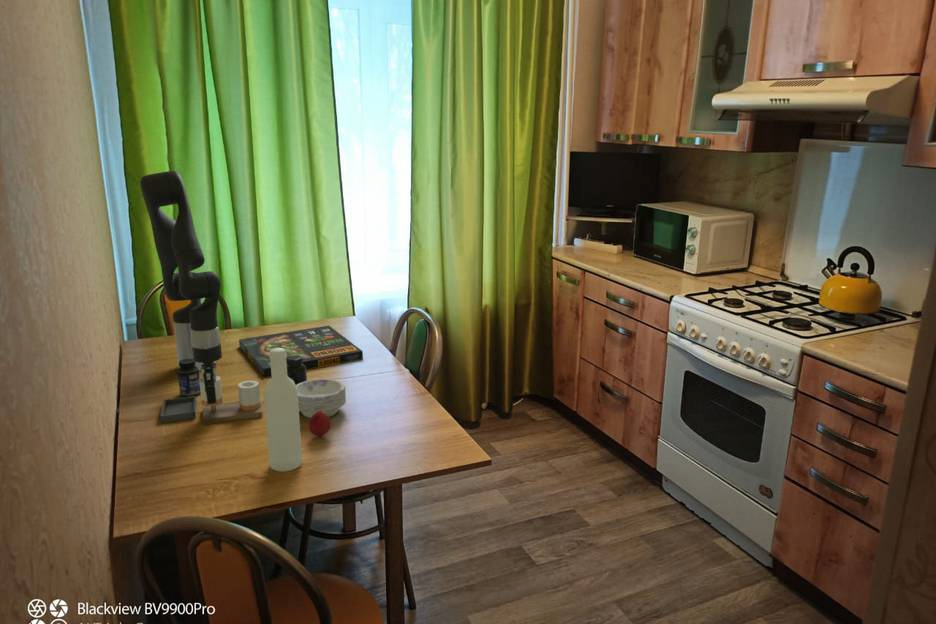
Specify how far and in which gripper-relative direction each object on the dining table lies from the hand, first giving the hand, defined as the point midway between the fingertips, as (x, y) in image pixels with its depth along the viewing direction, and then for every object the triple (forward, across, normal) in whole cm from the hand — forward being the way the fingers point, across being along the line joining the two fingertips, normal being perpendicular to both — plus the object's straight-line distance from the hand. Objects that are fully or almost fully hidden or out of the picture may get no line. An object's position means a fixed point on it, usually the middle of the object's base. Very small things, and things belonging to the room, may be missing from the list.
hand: (212, 398), depth 188 cm
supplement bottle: (+6, -9, +24) cm, 26 cm away
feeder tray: (+5, -6, -9) cm, 12 cm away
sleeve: (+1, 0, 0) cm, 1 cm away
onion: (+6, +23, +27) cm, 36 cm away
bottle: (+6, +35, +17) cm, 39 cm away
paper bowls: (+6, +7, +29) cm, 30 cm away
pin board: (+5, 0, +5) cm, 7 cm away
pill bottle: (+5, -19, -7) cm, 21 cm away
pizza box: (+6, -47, +29) cm, 56 cm away
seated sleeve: (+4, 0, +10) cm, 11 cm away
